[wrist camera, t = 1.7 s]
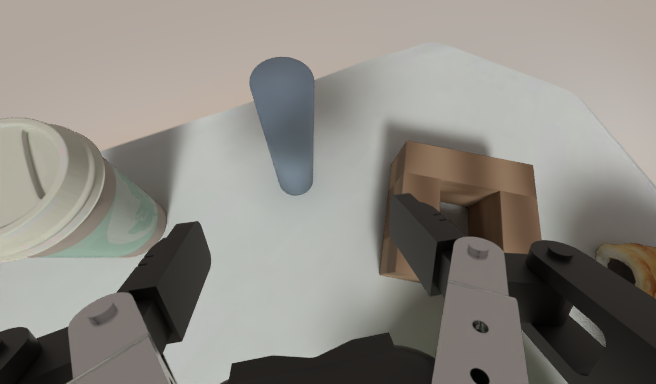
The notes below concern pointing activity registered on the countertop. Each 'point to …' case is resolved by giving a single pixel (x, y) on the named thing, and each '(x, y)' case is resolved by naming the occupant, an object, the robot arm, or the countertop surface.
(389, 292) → the countertop surface
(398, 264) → the socket block
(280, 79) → the dowel
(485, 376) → the robot arm
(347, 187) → the countertop surface
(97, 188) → the coffee cup
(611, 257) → the pastry
